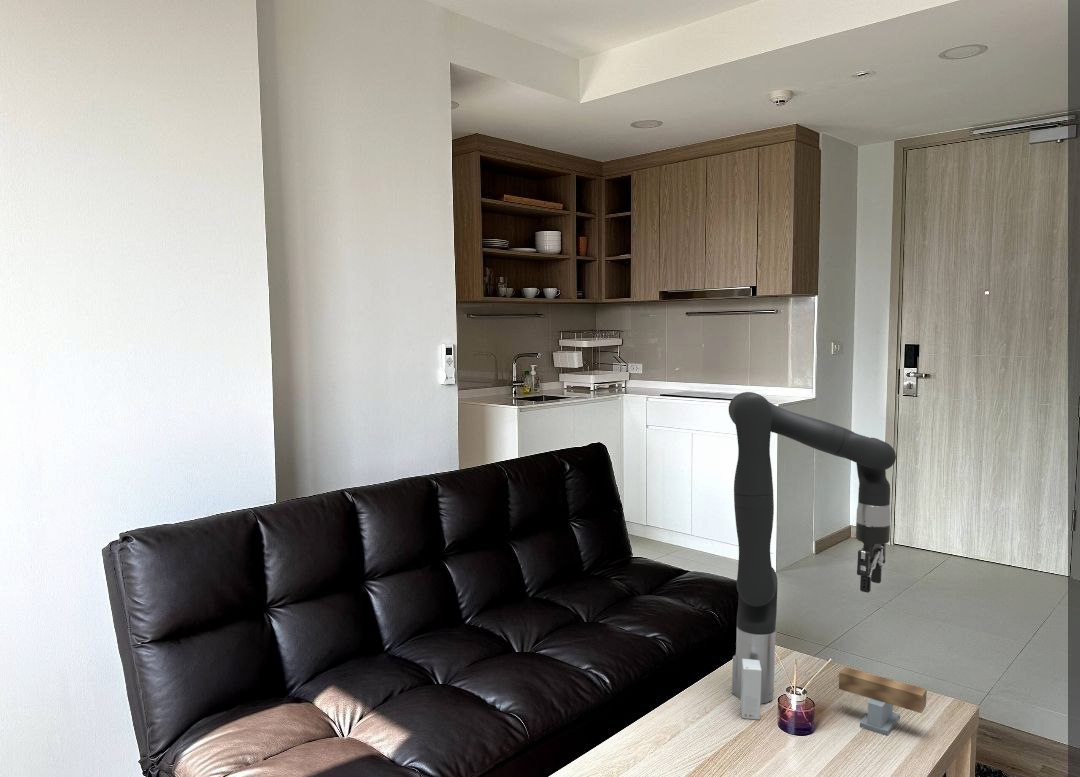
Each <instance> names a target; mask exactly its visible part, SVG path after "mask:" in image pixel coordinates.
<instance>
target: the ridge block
mask: <svg viewBox="0 0 1080 777" xmlns="http://www.w3.org/2000/svg"><path fill="white" fill-rule="evenodd" d="M900 719H901V714H900V713H898V712H895V711H894V705H892V704H888V703H885V702H881V701H878V700H874V699H871V698H870V700H869V701H868V703H867V713H866V714H865V715H864V717H863V718H862V719H861V720H860V722H859V727H860V728H862V727H863V728H862V729H866V730H869V731H872V732H875V733H877V734H881V735H884V736H889V734H890V733H891V732H892V730H893V729H894V727H895V726H896V725H897V723H898V722H899V720H900ZM897 721H898V722H897Z"/></svg>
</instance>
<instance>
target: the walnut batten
mask: <svg viewBox="0 0 1080 777" xmlns="http://www.w3.org/2000/svg"><path fill="white" fill-rule="evenodd" d="M838 690H841V691H845V692H848V693H850V694H854V695H857V696H862V697H865V698H868V699H870V700H871V699H874V700H878V701H881V702H885V703H888V704H892V705H893V706H895V707H897V708H903V709H906V710H909V711H913V712H915V713H919V714H923V712H924V710H925V709H926V707H927V694H928V693H927V690H928V689H927V688H923V687H920V686H916V685H912V684H909V683H905V682H902V681H898V680H893V679H892V678H891V679H890V678H887V677H883V676H880V675H876V674H872V673H868V672H865V671H862V670H858V669H854V668H850V667H847V666H844V667H843V668H842V669H841V670H840V671H839V672H838Z"/></svg>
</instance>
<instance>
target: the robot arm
mask: <svg viewBox="0 0 1080 777" xmlns="http://www.w3.org/2000/svg"><path fill="white" fill-rule="evenodd" d="M728 416H729V417H730V420H731V421H732V423H733V424H734V425H735V431H736V438H737V439H736V440H737V444H738V445H737V446H738V447H737V448H738V449H737V450H738V451H737V452H738V453H737V454H738V456H737V462H736V466H735V471H734V480H733V481H734V482H733V505H734V507H733V508H734V517H735V528H736V533H737V534H736V535H737V543H738V564H737V566H738V567H737V577H736V590H737V593H738V601H737V603H738V604H737V613H736V642H735V646H736V647H735V648H736V649H735V654H734V655H733V656H732V673H731V675H732V678H731V694H732V695H734V696H736V697H737V698H738V699H740V700H741V676H742V659H752V660H759V661H760V666H761V702H760V704H767V703H769V701H770V702H772V701H773V700H774V698H773V697H774V696H775V668H776V667H775V664H776V662H775V661H776V660H775V659H776V656H775V655H776V629H777V628H776V625H777V615H778V614H777V608H778V575H777V572H776V570H775V569H774V568H773V566H772V559H771V542H772V534H773V527H774V514H775V513H774V511H775V507H774V506H775V504H774V503H775V502H774V484H773V470H772V461H771V435H772V434H771V433H774V434H777V435H780V436H783V437H786V438H789V439H791V440H793V441H796V442H798V443H800V444H803V445H806V446H808V447H810V448H812V449H815V450H818V451H820V452H824V453H826V454H830V455H832V456H836V457H840V458H842V459H847V460H849V461H851V462H853V463H855V464H856V471H857V477H858V497H857V498H858V500H857V508H856V516H855V517H856V519H855V520H856V522H855V523H856V524H855V539H856V540H857V541H859V542H861V543H863V545H862V546H863V547H862V548H861V549H858V551H857V568H856V575H857V576H860V577H859V578H860V581H859V582H860V583H859V590H860V591H861V592H863V593H870V592H871V591H872V590H871V589H872V587H871V585H872V583H875V584H880V583H881V582H882V572H883V571H882V569H883V567H884V565H885V563H886V546H887V544H888V543H889V542H890V541H891V540H890V539H891V537H890V536H891V534H890V533H891V506H890V505H891V503H890V502H891V484H890V482H889V480H888V479H887V476H886V475H887V472H886V470H889V469H890V468H891V467H893V465H895V462H896V458H897V455H896V451H895V449H894V447H892V446H891V444H890V443H888V442H886V441H884V440H881V439H879V438H876V437H869V436H865V435H862V434H859V433H856V432H855V431H852V430H850V429H848V428H845V427H843V426H839V425H837V424H834V423H830V422H827V421H823V420H821V419H817V418H814V417H811V416H807V415H804V414H799V413H796V412H794V411H790V410H788V409H785V408H783V407H780V406H778V405H776V404H773V403H772V402H770V401H769V400H767V398H765V397H764V396H763V395H762V394H759V393H756V392H753V391H745V392H741V393H738V394H737V395H735V396H734V397H733V398H732V399H731V400H730V402H729V405H728ZM772 699H773V700H772ZM771 700H772V701H771Z"/></svg>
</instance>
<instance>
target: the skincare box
mask: <svg viewBox="0 0 1080 777" xmlns="http://www.w3.org/2000/svg"><path fill="white" fill-rule="evenodd" d="M760 702H761V666H760V661H759V660H752V659H742V676H741V699H740V714H741V718H742V719H747V720H748V719H749V720H758V721H759V720H760V719H761V703H760Z"/></svg>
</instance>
